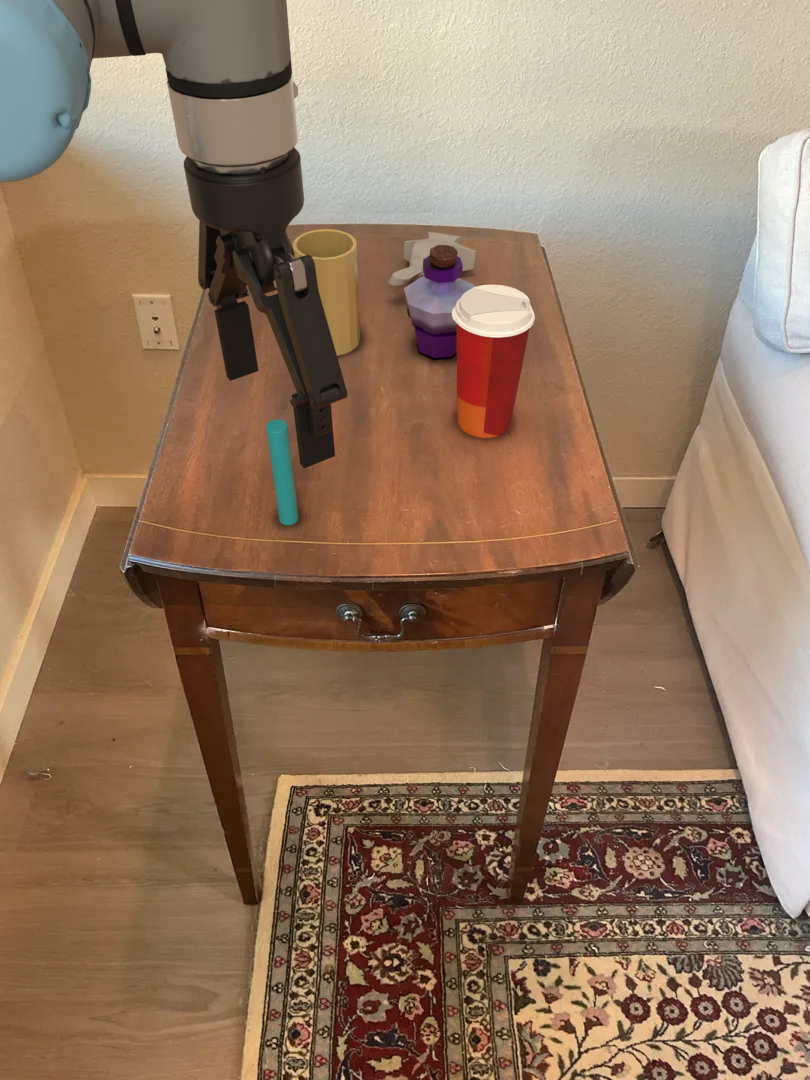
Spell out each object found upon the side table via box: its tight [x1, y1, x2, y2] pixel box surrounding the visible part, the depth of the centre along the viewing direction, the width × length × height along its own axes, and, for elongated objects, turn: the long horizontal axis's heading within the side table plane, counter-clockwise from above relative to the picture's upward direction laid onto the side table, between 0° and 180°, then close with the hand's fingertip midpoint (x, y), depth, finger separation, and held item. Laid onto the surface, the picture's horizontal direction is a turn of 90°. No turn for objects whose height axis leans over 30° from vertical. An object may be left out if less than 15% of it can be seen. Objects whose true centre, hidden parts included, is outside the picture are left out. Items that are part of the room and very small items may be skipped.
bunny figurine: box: [388, 231, 477, 287], centre depth 106 cm, size 10×5×15 cm
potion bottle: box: [403, 245, 476, 361], centre depth 93 cm, size 9×9×12 cm
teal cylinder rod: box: [265, 418, 299, 526], centre depth 74 cm, size 2×2×11 cm
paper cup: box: [452, 284, 536, 439], centre depth 83 cm, size 8×8×14 cm
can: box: [292, 228, 361, 357], centre depth 94 cm, size 7×7×12 cm
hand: (278, 414), depth 69 cm, fingers open, 13 cm apart
